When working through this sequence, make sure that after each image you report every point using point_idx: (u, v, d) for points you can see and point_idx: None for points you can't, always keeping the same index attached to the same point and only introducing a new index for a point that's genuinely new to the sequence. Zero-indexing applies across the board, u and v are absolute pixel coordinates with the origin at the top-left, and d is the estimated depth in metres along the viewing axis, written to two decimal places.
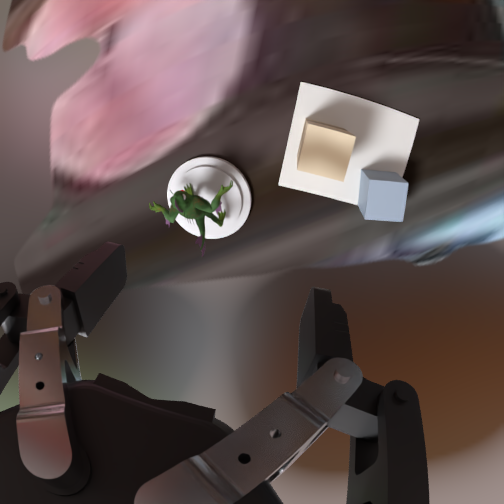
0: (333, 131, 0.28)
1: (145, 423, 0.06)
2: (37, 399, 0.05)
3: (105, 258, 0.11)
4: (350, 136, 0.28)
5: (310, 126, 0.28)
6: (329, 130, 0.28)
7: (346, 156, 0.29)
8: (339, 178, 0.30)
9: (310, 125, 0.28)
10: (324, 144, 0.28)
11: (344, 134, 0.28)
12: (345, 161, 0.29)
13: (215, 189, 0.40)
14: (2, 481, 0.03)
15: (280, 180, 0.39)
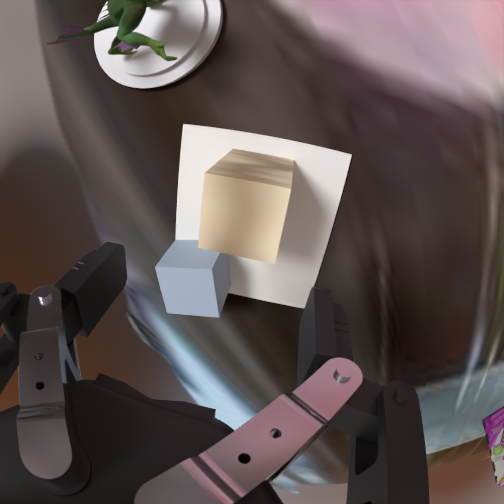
0: (280, 230, 0.18)
1: (145, 423, 0.06)
2: (36, 398, 0.05)
3: (105, 258, 0.11)
4: (274, 255, 0.19)
5: (286, 193, 0.17)
6: (281, 224, 0.18)
7: (240, 250, 0.19)
8: (202, 241, 0.19)
9: (288, 193, 0.17)
10: (256, 216, 0.18)
11: (276, 247, 0.19)
12: (231, 249, 0.19)
13: (166, 32, 0.18)
14: (2, 481, 0.03)
15: (190, 126, 0.23)
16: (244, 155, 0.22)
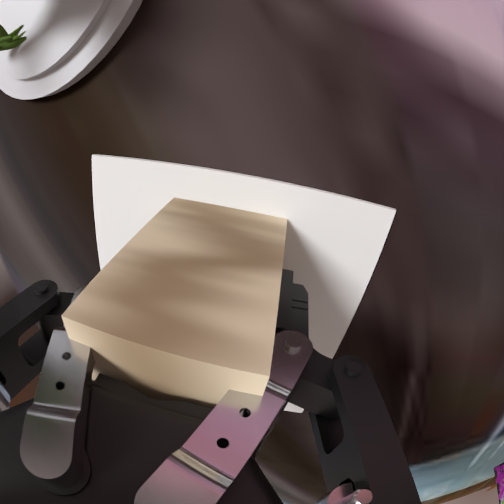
0: None
1: (145, 423, 0.06)
2: (53, 398, 0.05)
3: None
4: None
5: (256, 381, 0.06)
6: None
7: None
8: None
9: (261, 382, 0.06)
10: None
11: None
12: None
13: (60, 1, 0.08)
14: None
15: (102, 159, 0.12)
16: (187, 219, 0.11)
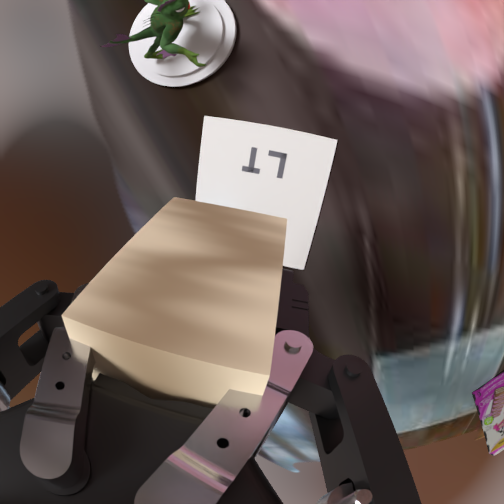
0: None
1: (145, 423, 0.06)
2: (53, 398, 0.05)
3: None
4: None
5: (256, 381, 0.06)
6: None
7: None
8: None
9: (261, 382, 0.06)
10: None
11: None
12: None
13: (192, 42, 0.25)
14: None
15: (210, 118, 0.29)
16: (187, 219, 0.11)
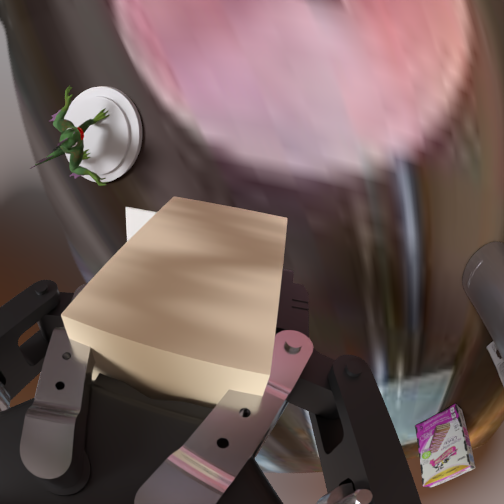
0: None
1: (145, 423, 0.06)
2: (53, 398, 0.05)
3: None
4: None
5: (256, 380, 0.06)
6: None
7: None
8: None
9: (261, 381, 0.06)
10: None
11: None
12: None
13: (106, 145, 0.30)
14: None
15: (130, 209, 0.35)
16: (187, 218, 0.11)
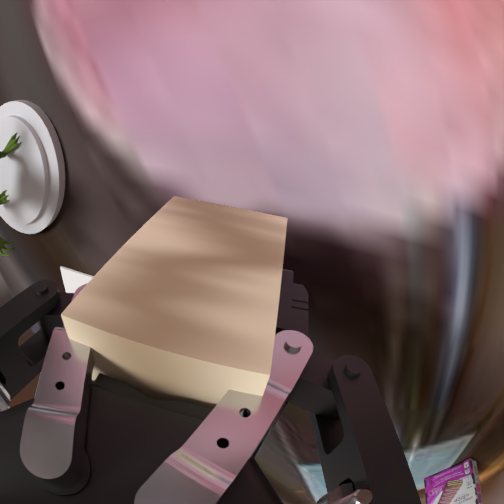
0: None
1: (145, 423, 0.06)
2: (53, 398, 0.05)
3: None
4: None
5: (256, 380, 0.06)
6: None
7: None
8: None
9: (261, 381, 0.06)
10: None
11: None
12: None
13: (23, 185, 0.19)
14: None
15: (65, 270, 0.24)
16: (187, 218, 0.11)
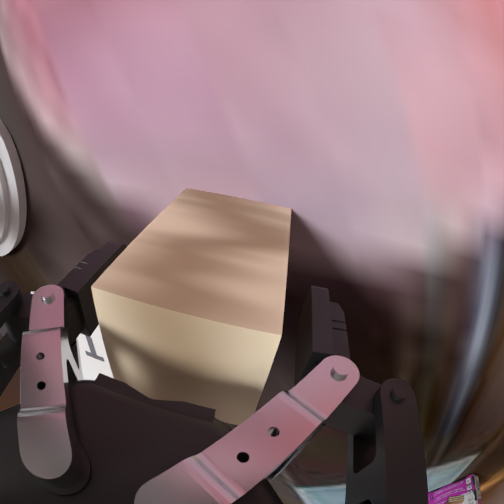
0: (256, 394, 0.08)
1: (145, 423, 0.06)
2: (37, 399, 0.05)
3: (108, 258, 0.11)
4: None
5: (269, 341, 0.07)
6: (259, 386, 0.08)
7: None
8: None
9: (273, 342, 0.07)
10: (207, 372, 0.08)
11: (250, 411, 0.09)
12: None
13: None
14: (1, 481, 0.03)
15: None
16: (200, 207, 0.12)
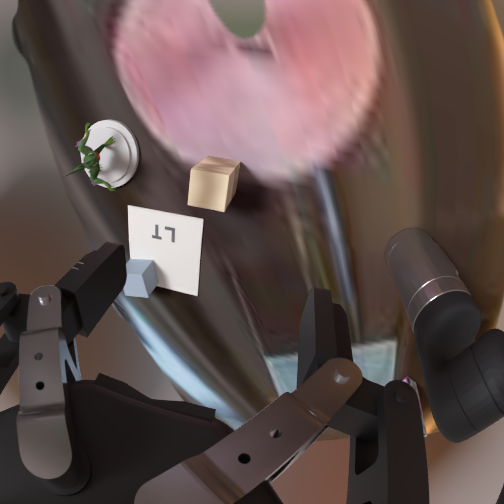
0: (225, 194, 0.38)
1: (145, 423, 0.06)
2: (36, 399, 0.05)
3: (105, 258, 0.11)
4: (223, 207, 0.39)
5: (227, 177, 0.37)
6: (225, 191, 0.38)
7: (207, 205, 0.39)
8: (189, 201, 0.39)
9: (227, 177, 0.37)
10: (214, 188, 0.38)
11: (224, 203, 0.39)
12: (203, 205, 0.39)
13: (114, 162, 0.45)
14: (2, 481, 0.03)
15: (131, 207, 0.50)
16: (213, 159, 0.42)
